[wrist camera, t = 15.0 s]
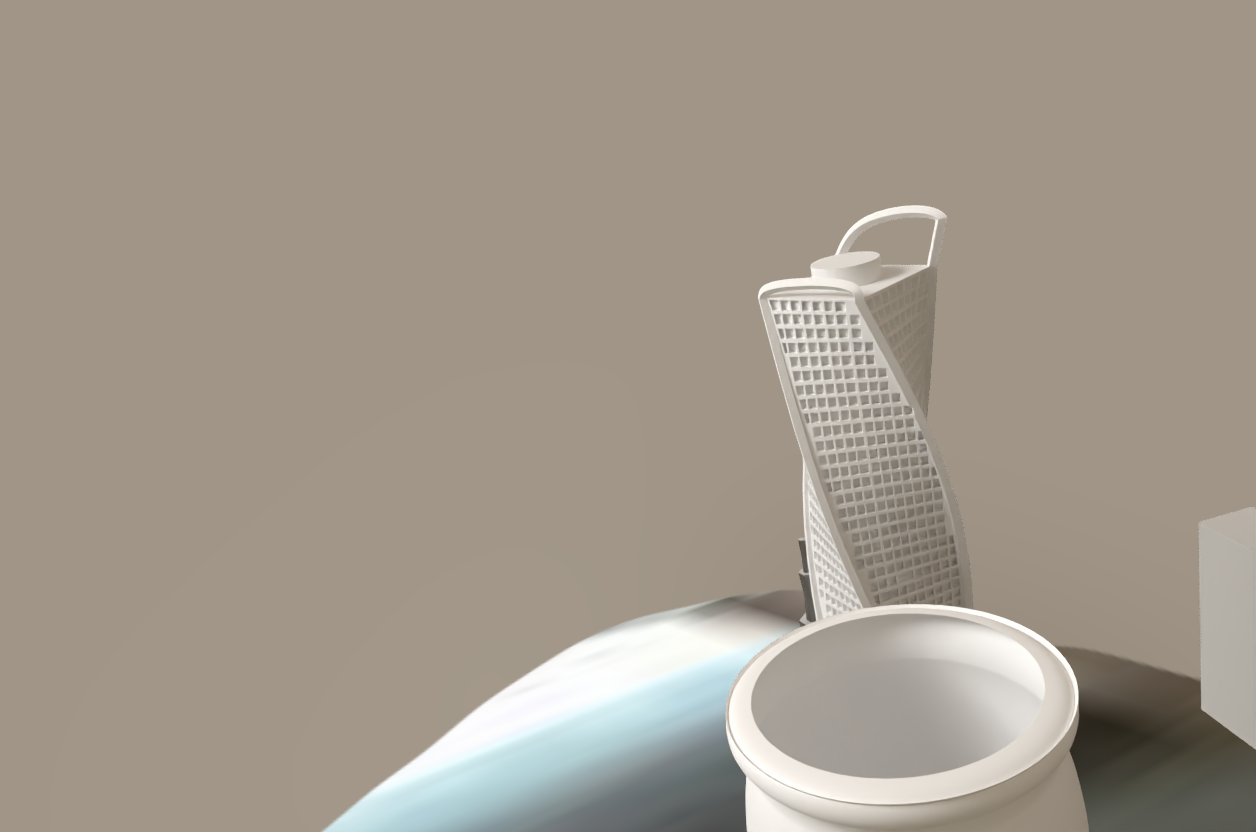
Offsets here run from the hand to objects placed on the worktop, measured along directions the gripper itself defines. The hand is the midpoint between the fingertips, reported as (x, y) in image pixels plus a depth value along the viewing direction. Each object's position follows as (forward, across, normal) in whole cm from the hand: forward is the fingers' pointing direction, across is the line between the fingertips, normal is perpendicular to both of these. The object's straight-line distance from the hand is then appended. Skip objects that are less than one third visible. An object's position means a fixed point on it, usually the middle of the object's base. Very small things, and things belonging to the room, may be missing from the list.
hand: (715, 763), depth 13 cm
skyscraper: (+30, +15, -28) cm, 44 cm away
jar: (+16, +9, -27) cm, 33 cm away
